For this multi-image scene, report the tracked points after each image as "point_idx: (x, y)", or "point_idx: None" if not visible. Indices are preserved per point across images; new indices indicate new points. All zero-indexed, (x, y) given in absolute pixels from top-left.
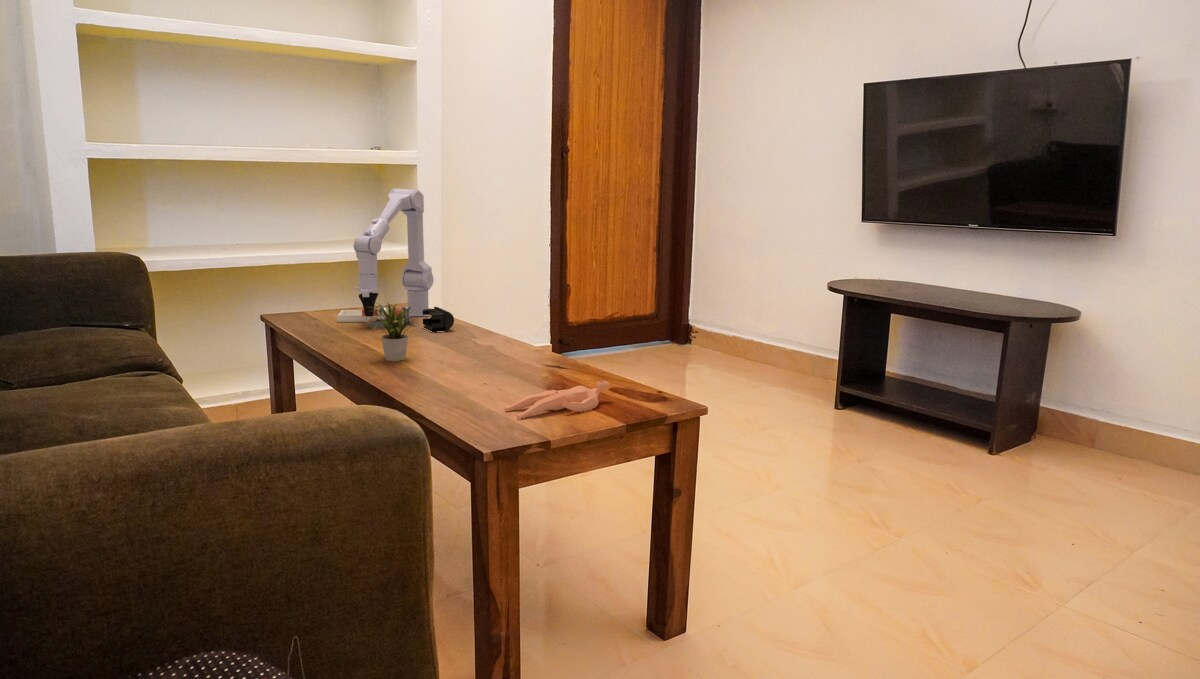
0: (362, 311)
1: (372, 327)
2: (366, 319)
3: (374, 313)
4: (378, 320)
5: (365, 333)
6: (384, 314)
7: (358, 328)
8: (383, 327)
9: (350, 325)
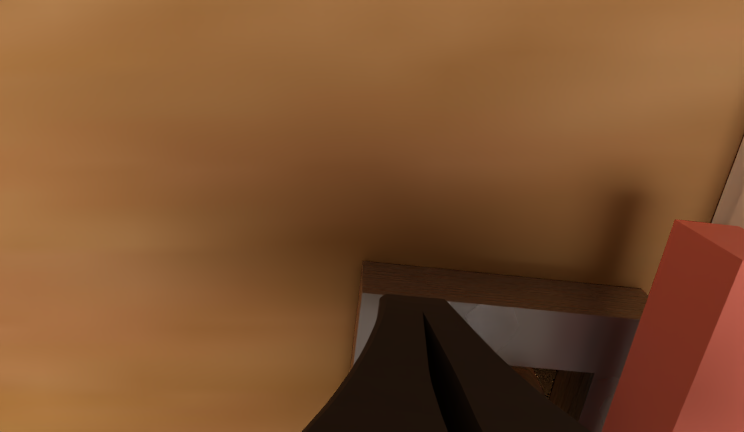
0: (719, 255)
1: (359, 295)
2: None
3: (638, 397)
4: None
5: (75, 223)
6: None
7: (375, 140)
8: None
9: (593, 33)
